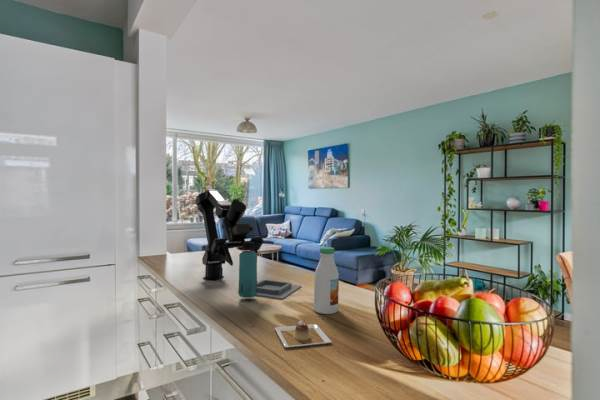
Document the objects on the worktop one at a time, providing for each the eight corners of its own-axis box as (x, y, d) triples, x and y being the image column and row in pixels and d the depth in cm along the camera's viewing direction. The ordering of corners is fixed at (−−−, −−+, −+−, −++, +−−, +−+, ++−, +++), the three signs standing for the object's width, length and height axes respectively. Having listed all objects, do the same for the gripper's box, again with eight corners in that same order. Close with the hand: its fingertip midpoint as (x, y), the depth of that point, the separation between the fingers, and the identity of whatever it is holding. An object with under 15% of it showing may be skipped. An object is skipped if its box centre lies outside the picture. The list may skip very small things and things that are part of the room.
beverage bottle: (260, 298, 116) (261, 241, 116) (250, 303, 110) (251, 243, 110) (245, 295, 119) (246, 239, 119) (233, 300, 113) (235, 242, 113)
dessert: (332, 346, 81) (332, 327, 81) (284, 351, 78) (285, 331, 78) (316, 327, 92) (316, 310, 92) (274, 331, 89) (274, 313, 89)
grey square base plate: (237, 292, 122) (237, 287, 122) (261, 281, 138) (261, 276, 138) (282, 299, 115) (282, 293, 115) (301, 287, 132) (301, 281, 132)
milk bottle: (321, 316, 100) (323, 250, 100) (309, 308, 107) (310, 246, 107) (342, 312, 103) (344, 248, 103) (329, 305, 110) (331, 245, 110)
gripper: (214, 215, 116) (225, 251, 107) (261, 215, 126) (275, 248, 117) (206, 236, 122) (216, 271, 113) (252, 233, 133) (264, 266, 124)
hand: (244, 263), depth 117 cm, fingers open, 9 cm apart
